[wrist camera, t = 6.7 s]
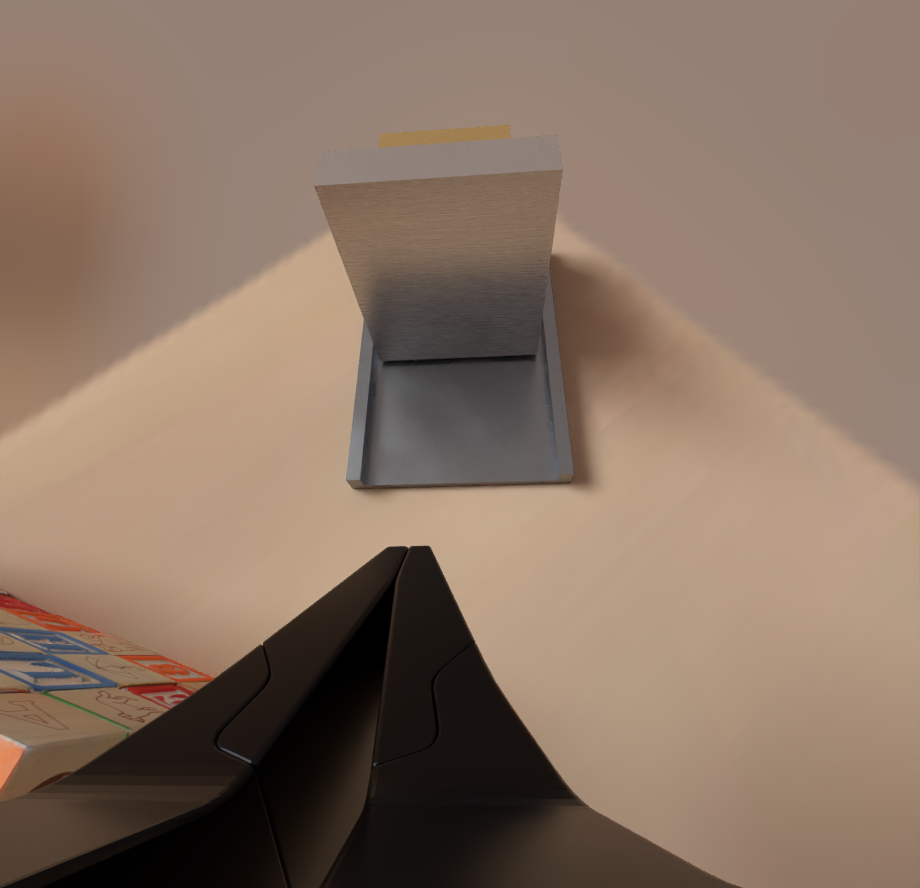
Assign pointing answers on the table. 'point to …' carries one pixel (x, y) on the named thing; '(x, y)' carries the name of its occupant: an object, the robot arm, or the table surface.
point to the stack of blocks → (73, 694)
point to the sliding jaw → (446, 242)
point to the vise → (461, 418)
